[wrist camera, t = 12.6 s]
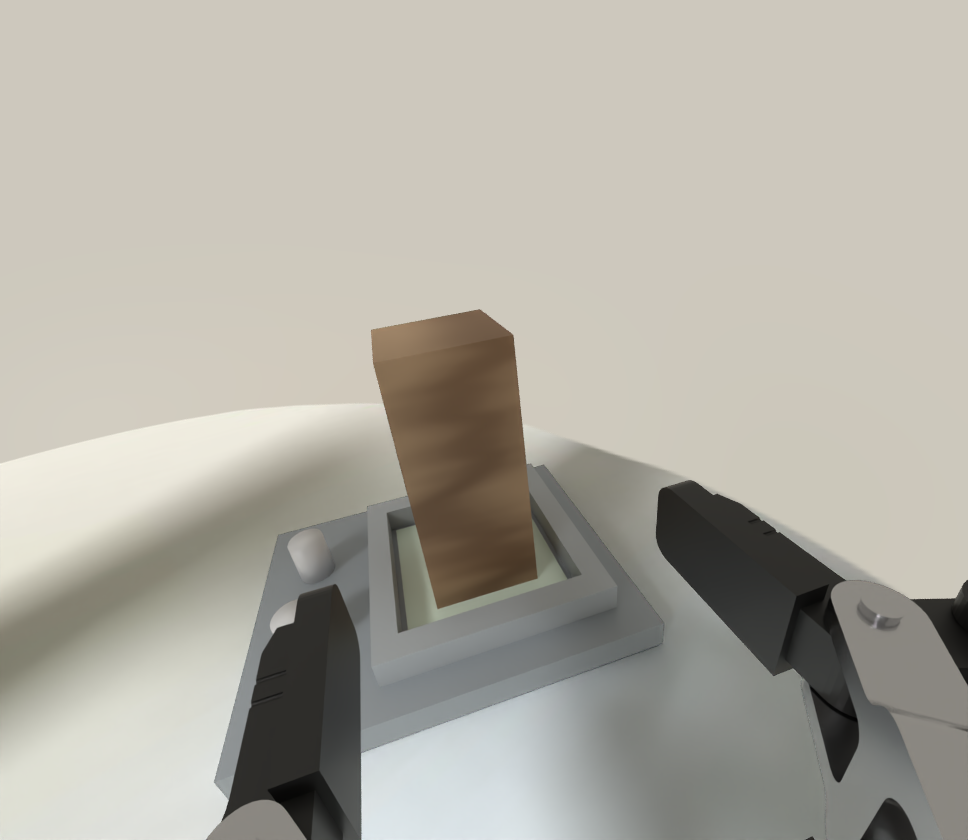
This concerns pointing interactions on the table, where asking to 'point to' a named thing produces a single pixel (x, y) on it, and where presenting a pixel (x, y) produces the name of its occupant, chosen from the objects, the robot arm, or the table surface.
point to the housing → (451, 617)
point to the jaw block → (460, 449)
